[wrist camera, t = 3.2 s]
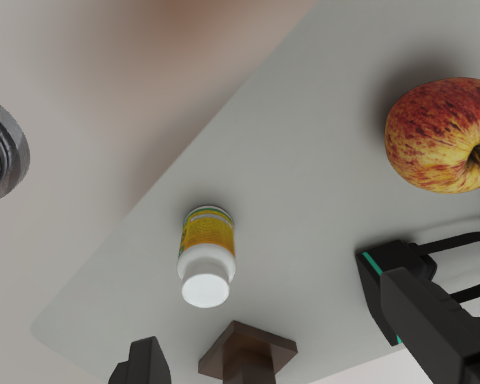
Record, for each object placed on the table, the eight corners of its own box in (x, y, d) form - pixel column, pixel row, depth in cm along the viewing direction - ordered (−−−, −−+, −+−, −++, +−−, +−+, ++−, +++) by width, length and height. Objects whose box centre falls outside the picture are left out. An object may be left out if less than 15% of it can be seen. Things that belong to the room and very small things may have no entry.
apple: (470, 53, 29) (574, 79, 21) (461, 148, 34) (543, 202, 25) (363, 80, 30) (421, 116, 21) (368, 169, 34) (418, 229, 26)
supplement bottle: (235, 241, 38) (240, 311, 30) (188, 246, 38) (179, 317, 30) (231, 200, 36) (234, 265, 27) (179, 206, 36) (167, 272, 27)
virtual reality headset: (353, 252, 39) (404, 320, 31) (492, 195, 39) (584, 249, 30) (369, 312, 45) (416, 386, 36) (491, 264, 44) (569, 326, 36)
